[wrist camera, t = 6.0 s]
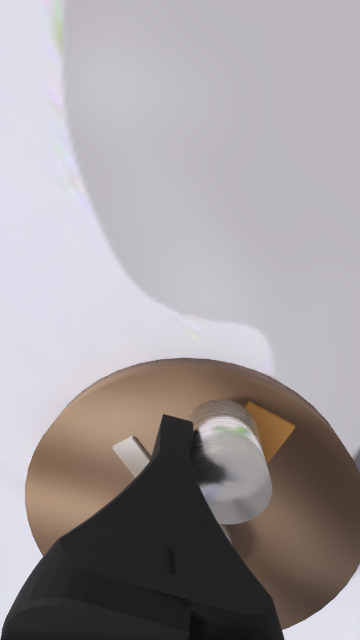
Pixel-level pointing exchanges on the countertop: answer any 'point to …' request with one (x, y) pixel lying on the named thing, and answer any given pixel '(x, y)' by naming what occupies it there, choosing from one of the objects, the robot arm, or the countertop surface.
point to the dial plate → (247, 538)
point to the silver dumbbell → (229, 462)
